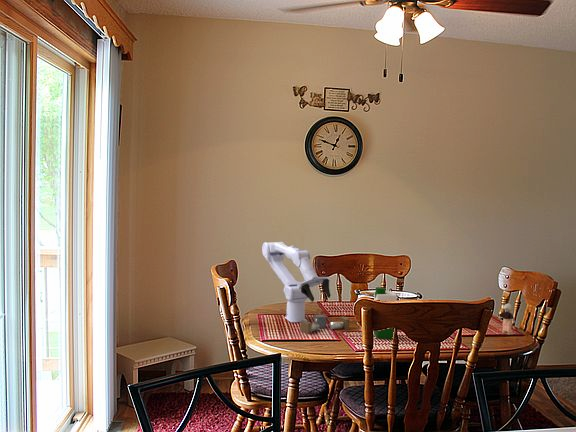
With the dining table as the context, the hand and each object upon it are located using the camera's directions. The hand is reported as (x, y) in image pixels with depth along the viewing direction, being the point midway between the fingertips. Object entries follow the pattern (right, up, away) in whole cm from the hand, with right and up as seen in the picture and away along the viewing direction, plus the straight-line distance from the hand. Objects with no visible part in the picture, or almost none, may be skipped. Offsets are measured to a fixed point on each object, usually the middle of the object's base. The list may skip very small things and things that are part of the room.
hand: (321, 298), depth 244 cm
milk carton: (+25, -15, -6) cm, 30 cm away
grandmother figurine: (+79, -15, +4) cm, 81 cm away
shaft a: (+7, -14, +5) cm, 16 cm away
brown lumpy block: (-4, -14, -1) cm, 14 cm away
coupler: (0, -13, +7) cm, 15 cm away
